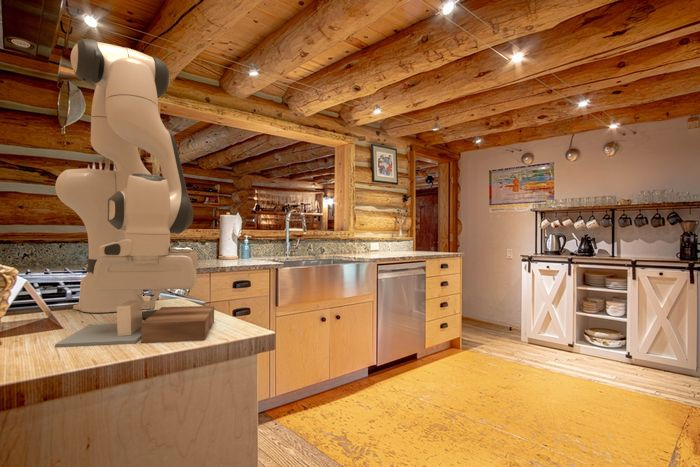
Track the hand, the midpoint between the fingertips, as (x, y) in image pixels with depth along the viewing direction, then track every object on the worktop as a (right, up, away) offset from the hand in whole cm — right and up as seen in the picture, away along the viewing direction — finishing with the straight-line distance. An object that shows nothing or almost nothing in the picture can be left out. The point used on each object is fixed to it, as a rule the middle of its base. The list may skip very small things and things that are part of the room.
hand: (146, 309), depth 83 cm
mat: (-7, -5, -2) cm, 8 cm away
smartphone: (-5, -5, +15) cm, 17 cm away
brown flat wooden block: (+7, -5, +2) cm, 9 cm away
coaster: (-3, -1, -1) cm, 4 cm away
